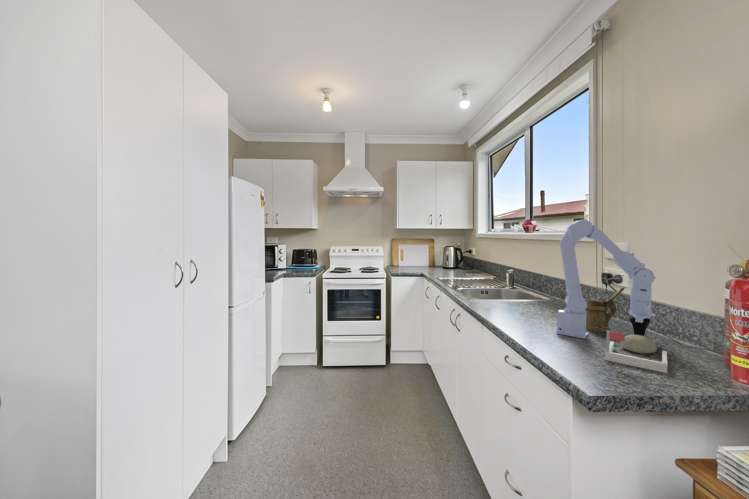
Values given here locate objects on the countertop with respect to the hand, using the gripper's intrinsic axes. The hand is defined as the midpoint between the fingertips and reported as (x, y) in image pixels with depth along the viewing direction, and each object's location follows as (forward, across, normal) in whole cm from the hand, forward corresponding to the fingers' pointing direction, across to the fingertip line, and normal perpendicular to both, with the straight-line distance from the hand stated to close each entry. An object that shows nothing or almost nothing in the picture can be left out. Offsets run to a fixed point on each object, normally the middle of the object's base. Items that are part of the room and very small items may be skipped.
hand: (639, 338), depth 114 cm
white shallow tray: (+1, -21, 0) cm, 21 cm away
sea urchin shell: (+2, -10, 0) cm, 10 cm away
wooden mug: (+2, +9, +12) cm, 15 cm away
